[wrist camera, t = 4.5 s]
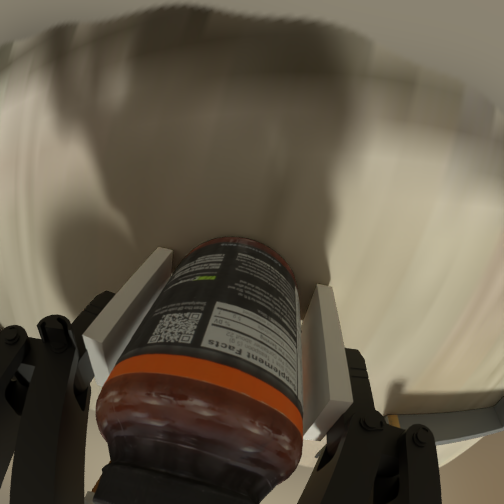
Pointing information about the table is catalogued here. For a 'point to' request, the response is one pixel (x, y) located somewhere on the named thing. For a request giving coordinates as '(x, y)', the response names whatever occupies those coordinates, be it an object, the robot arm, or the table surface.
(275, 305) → the supplement bottle
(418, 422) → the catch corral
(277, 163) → the table surface
